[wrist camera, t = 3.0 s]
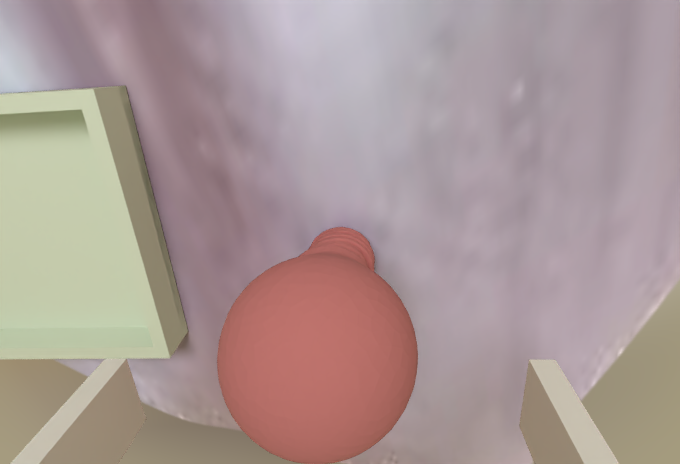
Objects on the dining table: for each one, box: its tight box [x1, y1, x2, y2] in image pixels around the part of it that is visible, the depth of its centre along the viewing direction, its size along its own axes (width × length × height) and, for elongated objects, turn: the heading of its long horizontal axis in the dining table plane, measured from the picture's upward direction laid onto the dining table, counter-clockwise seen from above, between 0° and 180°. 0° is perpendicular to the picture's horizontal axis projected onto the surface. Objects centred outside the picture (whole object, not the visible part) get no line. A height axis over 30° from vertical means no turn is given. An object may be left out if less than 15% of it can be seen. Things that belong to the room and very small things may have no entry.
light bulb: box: [217, 227, 418, 464], centre depth 17 cm, size 7×7×12 cm
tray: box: [0, 86, 188, 359], centre depth 22 cm, size 15×15×2 cm
